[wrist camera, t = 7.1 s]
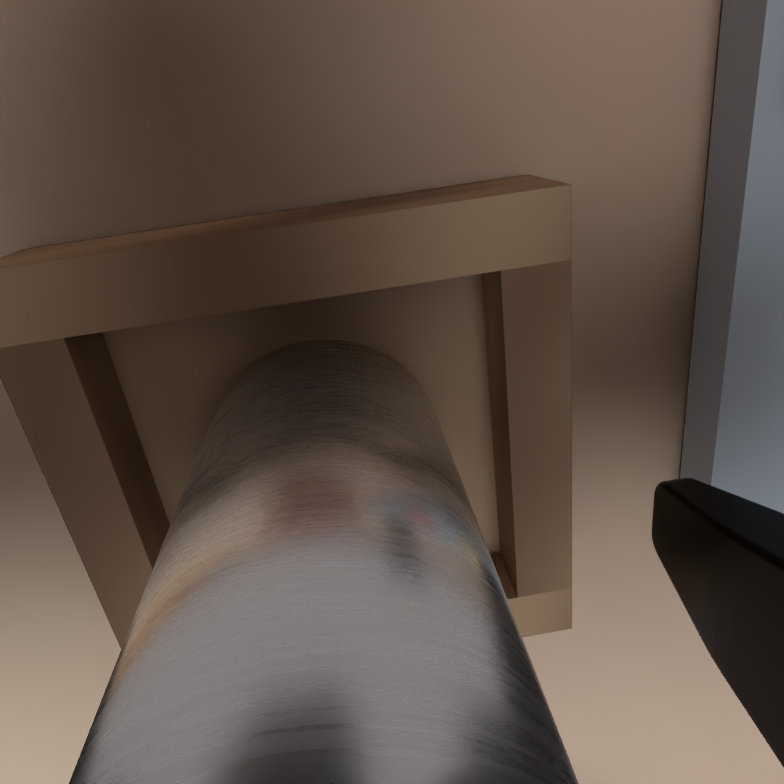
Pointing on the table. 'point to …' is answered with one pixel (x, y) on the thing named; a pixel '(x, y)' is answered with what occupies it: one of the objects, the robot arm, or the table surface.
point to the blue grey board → (742, 268)
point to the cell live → (324, 603)
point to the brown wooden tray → (293, 325)
